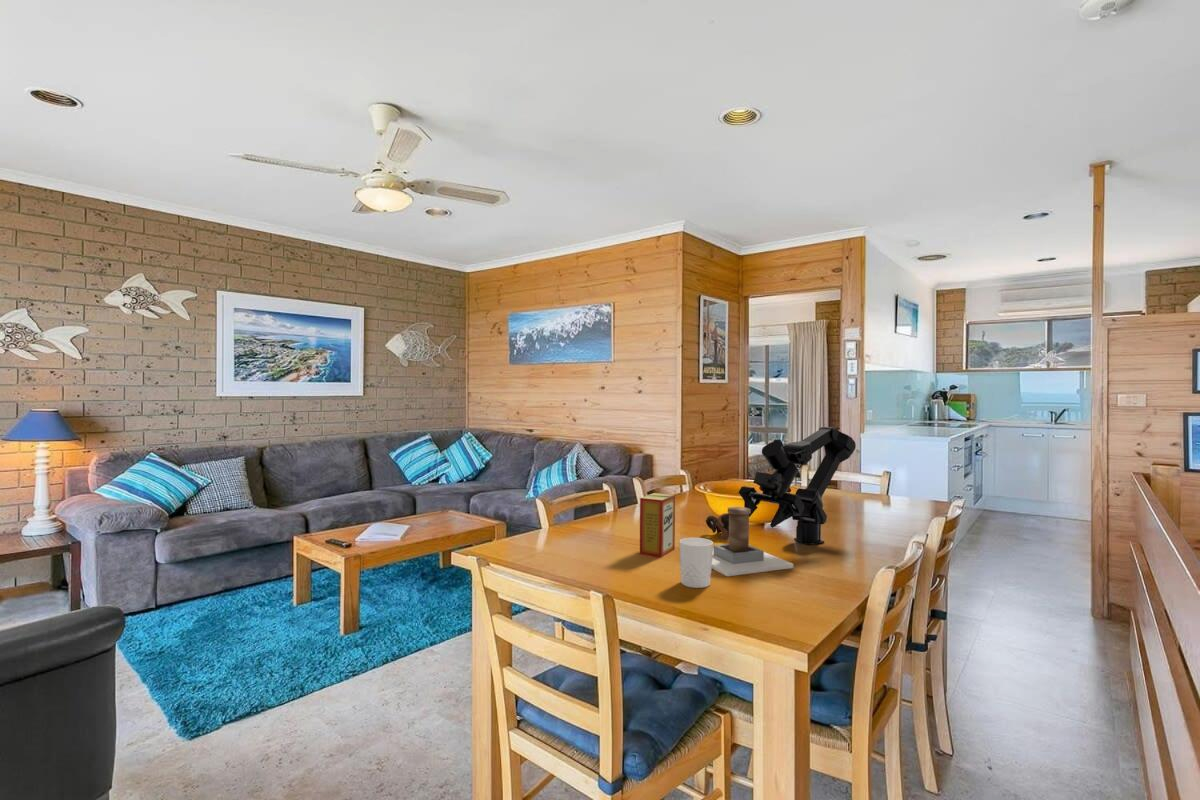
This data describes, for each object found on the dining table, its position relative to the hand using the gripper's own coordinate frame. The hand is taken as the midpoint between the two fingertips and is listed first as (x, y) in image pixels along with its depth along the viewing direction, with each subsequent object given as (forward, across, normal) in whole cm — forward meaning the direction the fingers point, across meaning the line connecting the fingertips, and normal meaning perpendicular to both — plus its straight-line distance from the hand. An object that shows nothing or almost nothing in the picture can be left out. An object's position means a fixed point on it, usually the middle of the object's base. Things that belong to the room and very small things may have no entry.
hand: (757, 523), depth 166 cm
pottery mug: (-1, -20, +14) cm, 24 cm away
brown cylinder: (+11, 0, 0) cm, 11 cm away
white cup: (+28, +6, -15) cm, 33 cm away
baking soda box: (+20, -20, -7) cm, 29 cm away
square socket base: (+12, 0, +1) cm, 12 cm away
